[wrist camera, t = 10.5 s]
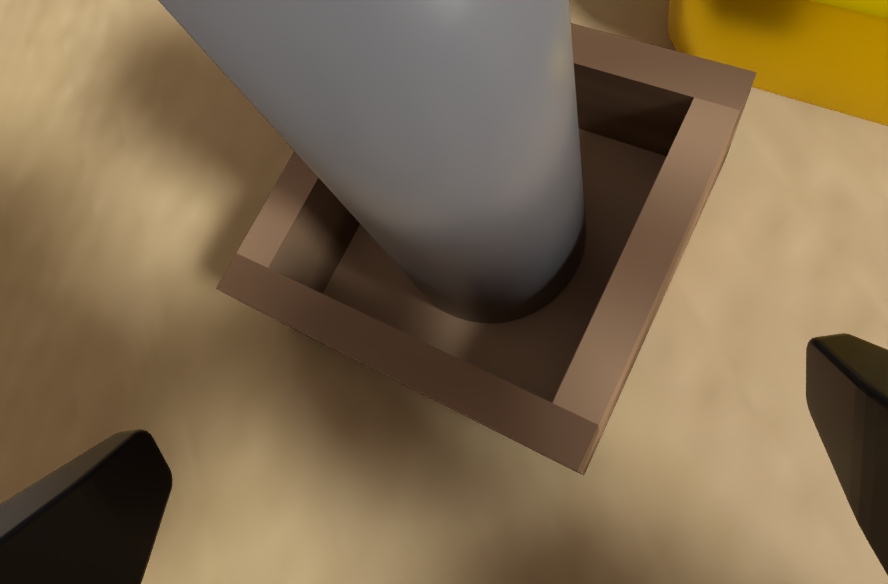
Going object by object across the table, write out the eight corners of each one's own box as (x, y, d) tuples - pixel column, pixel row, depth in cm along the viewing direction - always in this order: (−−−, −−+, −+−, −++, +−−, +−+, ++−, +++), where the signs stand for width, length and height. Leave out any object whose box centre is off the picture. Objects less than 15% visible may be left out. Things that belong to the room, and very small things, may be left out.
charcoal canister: (476, 361, 17) (196, 73, 5) (372, 228, 19) (0, -198, 7) (626, 242, 17) (669, -302, 5) (508, 120, 19) (352, -477, 7)
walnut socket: (583, 475, 17) (577, 471, 13) (289, 326, 20) (216, 288, 16) (725, 158, 18) (756, 72, 14) (431, 66, 21) (394, -24, 18)
